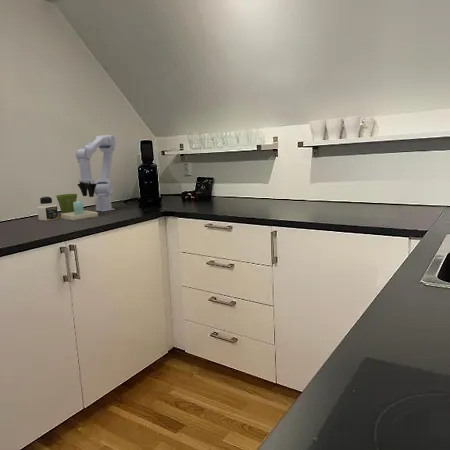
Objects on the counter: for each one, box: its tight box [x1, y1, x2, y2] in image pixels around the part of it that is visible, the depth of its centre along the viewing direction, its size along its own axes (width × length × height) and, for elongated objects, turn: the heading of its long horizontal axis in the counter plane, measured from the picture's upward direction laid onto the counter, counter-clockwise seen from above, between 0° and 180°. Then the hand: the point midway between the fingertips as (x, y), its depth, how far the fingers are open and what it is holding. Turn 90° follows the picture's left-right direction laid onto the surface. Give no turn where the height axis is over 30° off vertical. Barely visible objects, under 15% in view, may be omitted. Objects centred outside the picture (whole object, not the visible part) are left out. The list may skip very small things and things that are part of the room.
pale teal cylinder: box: [73, 200, 84, 215], centre depth 236 cm, size 5×5×8 cm
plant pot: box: [55, 193, 78, 214], centre depth 249 cm, size 12×12×11 cm
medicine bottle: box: [36, 196, 59, 222], centre depth 235 cm, size 7×7×12 cm
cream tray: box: [60, 210, 99, 222], centre depth 236 cm, size 14×14×2 cm
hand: (88, 196), depth 243 cm, fingers open, 7 cm apart
